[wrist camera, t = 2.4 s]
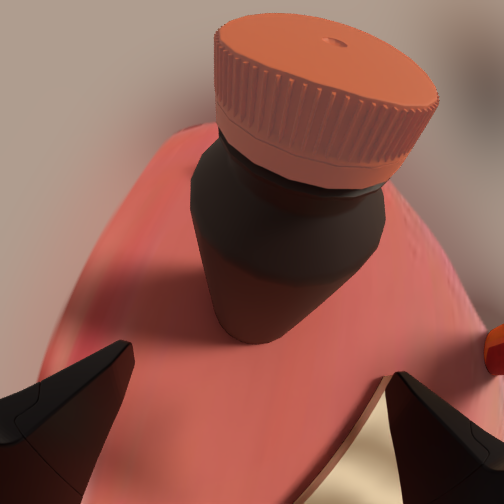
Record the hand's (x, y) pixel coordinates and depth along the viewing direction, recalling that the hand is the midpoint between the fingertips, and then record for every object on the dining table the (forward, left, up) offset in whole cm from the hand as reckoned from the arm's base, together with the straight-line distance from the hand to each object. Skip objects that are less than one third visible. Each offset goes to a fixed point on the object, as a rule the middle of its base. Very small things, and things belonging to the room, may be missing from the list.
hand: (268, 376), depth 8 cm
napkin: (-1, -16, -13) cm, 21 cm away
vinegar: (+5, +3, -13) cm, 14 cm away
